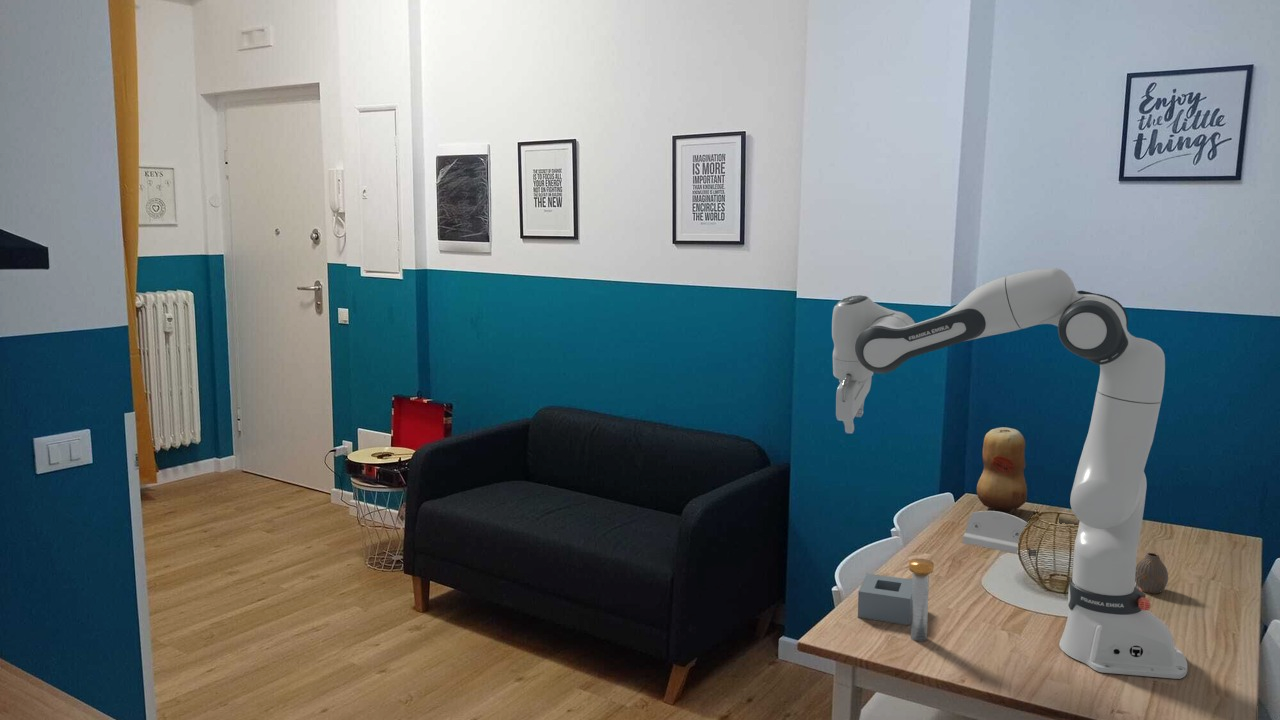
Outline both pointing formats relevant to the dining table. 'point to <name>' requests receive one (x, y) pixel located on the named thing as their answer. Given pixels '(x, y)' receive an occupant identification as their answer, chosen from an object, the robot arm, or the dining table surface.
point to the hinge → (994, 530)
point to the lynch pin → (920, 597)
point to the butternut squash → (1003, 470)
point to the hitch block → (885, 599)
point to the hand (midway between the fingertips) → (854, 423)
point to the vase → (1151, 574)
